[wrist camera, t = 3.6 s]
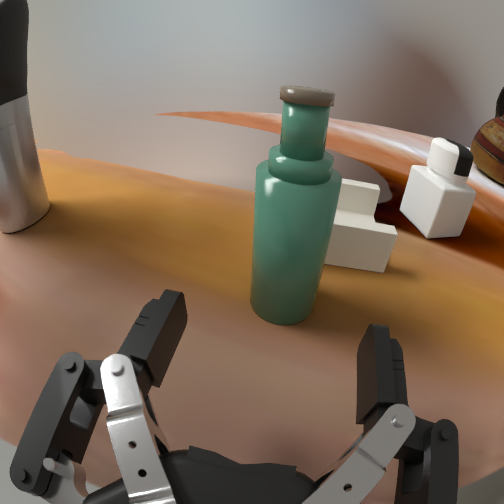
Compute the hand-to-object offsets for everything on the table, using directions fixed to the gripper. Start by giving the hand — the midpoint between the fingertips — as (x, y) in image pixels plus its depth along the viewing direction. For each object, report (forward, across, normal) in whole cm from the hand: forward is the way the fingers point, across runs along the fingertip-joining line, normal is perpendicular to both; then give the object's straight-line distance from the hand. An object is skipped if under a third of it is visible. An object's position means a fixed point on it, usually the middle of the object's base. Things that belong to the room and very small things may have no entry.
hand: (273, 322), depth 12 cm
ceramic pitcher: (+66, -57, +8) cm, 88 cm away
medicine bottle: (+27, -19, +8) cm, 34 cm away
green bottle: (+9, 0, +8) cm, 12 cm away
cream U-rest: (+20, -4, +8) cm, 22 cm away
